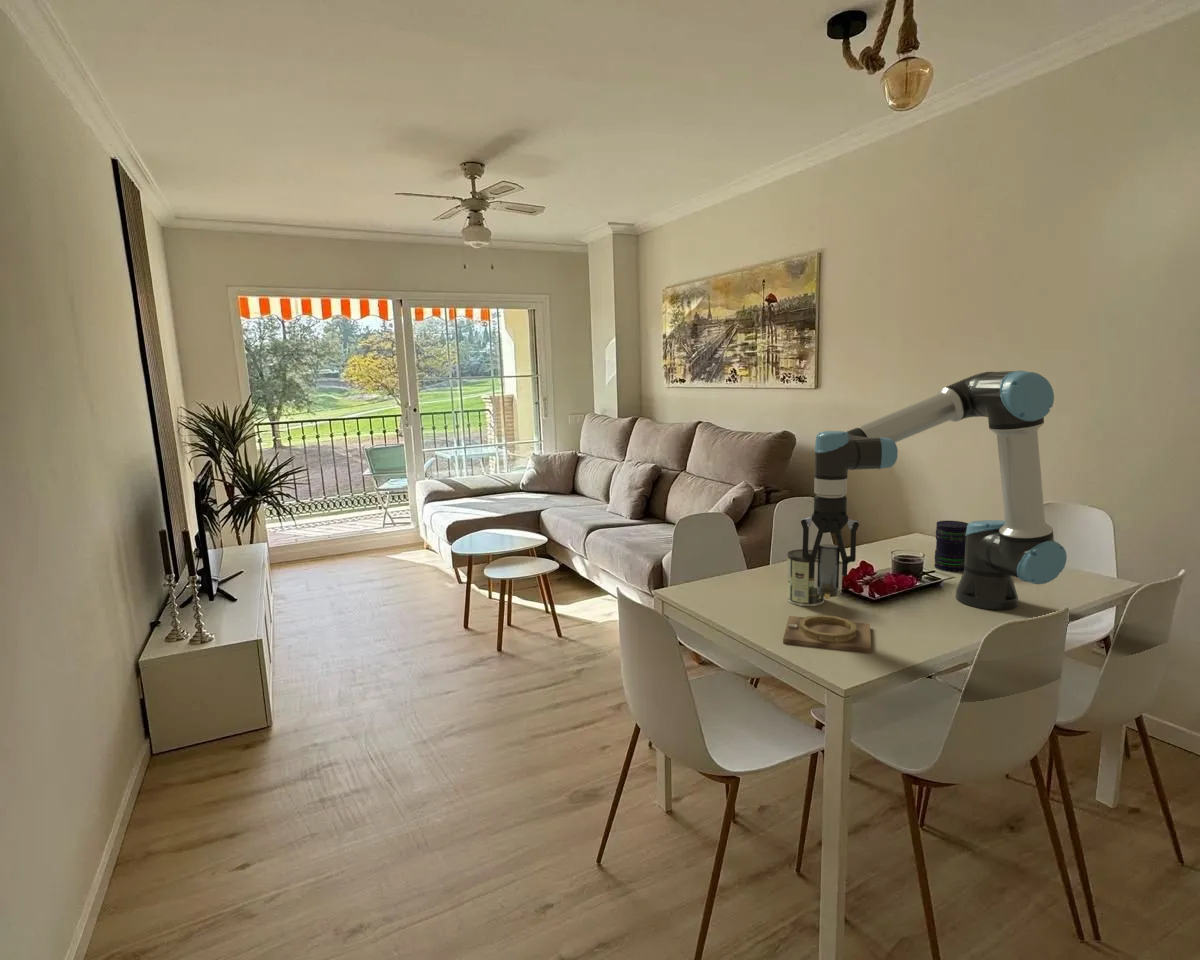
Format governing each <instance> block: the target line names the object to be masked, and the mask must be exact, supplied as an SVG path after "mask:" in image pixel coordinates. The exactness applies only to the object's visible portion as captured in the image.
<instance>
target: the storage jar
mask: <svg viewBox="0 0 1200 960" xmlns="http://www.w3.org/2000/svg"><path fill="white" fill-rule="evenodd" d="M968 524H969V522H964V521H960V520H958V521H957V520H939V521H937V522H936V524H935V525H936V527H935V528H936V529H935V540H936V541H935V551H934V558H933V559H934V568H935V569H937V570H939V571H942V572H948V573H964V564H965V540H966V536H965V534H966V530H967V525H968Z"/></svg>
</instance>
